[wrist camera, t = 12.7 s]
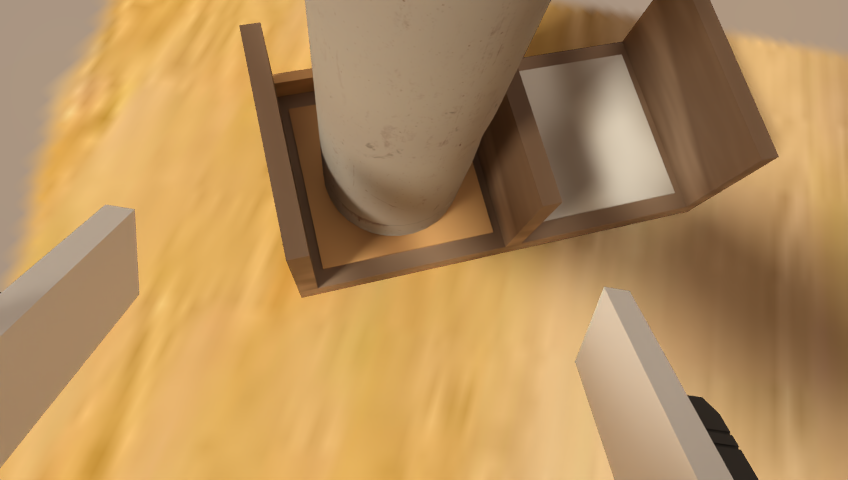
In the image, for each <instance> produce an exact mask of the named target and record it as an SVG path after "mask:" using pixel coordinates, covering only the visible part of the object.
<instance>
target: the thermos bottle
mask: <svg viewBox="0 0 848 480" xmlns="http://www.w3.org/2000/svg"><path fill="white" fill-rule="evenodd" d="M550 1H551V0H305V5H306V14H307V24H308V33H309V43H310V52H311V62H312V71H313V81H314V90H315V100H316V110H317V119H318V129H319V138H320V148H321V157H322V167H323V175H324V181H325V186H326V190H327V192H328V194H329V197H330V199H331V201H332V202H333V204H334V205H335V207H336V208H337V210H338V211H339V212H340V213H341V214H342V215H343V216H344V217H345V218H346V219H347V220H348V221H350V222H351V223H353V224H355V225H356V226H358V227H359V228H361V229H364V230H366V231H369V232H371V233H375V234H380V235H385V236H402V235H407V234H413V233H416V232H418V231H421V230H423V229H426V228H427V227H429V226H430V225H432V224H434V223H435V222H437V221H438V220H439V219H440V218H441V217H442V216H443V215H444V214H445V213H446V211H447V210H448V208H449V207H450V205H451V204H452V202H453V201H454V199H455V196H456V194H457V192H458V190H459V188H460V186H461V184H462V182H463V180H464V178H465V176H466V174H467V172H468V170H469V168H470V166H471V163H472V161H473V159H474V156H475V154H476V151H477V149H478V146H479V144H480V141H481V138H482V136H483V134H484V132H485V131H486V129H487V127H488V126H489V124H490V123H491V121H492V119H493V118H494V116H495V114H496V112H497V110H498V108H499V106H500V104H501V102H502V100H503V98H504V96H505V94H506V92H507V90H508V87H509V85H510V83H511V81H512V79H513V77H514V75H515V73H516V71H517V69H518V67H519V65H520V63H521V61H522V59H523V57H524V55H525V53H526V50H527V48H528V46H529V44H530V42H531V40H532V38H533V36H534V34H535V32H536V30H537V28H538V26H539V24H540V22H541V20H542V18H543V16H544V13H545V11H546V9H547V7H548V5H549V3H550Z"/></svg>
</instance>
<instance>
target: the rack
mask: <svg viewBox="0 0 848 480" xmlns="http://www.w3.org/2000/svg"><path fill="white" fill-rule="evenodd" d="M239 26H240V31H241V36H242V41H243V46H244V51H245V56H246V61H247V66H248V71H249V76H250V81H251V86H252V91H253V96H254V101H255V106H256V111H257V116H258V121H259V126H260V132H261V137H262V142H263V147H264V152H265V157H266V162H267V167H268V172H269V177H270V182H271V187H272V192H273V197H274V202H275V207H276V212H277V217H278V222H279V227H280V232H281V237H282V242H283V247H284V252H285V257H286V261H287V264H288V266H289V268H290V271H291V273H292V275H293V278H294V280H295V283H296V285H297V287H298V290H299V292H300V295H301V297H302V298H303V297H307V296H312V295H316V294H321V293H325V292H330V291H334V290H338V289H343V288H347V287H352V286H356V285H361V284H365V283H370V282H374V281H379V280H383V279H388V278H392V277H397V276H401V275H406V274H410V273H415V272H419V271H423V270H428V269H432V268H437V267H441V266H446V265H450V264H455V263H459V262H464V261H468V260H473V259H477V258H482V257H486V256H491V255H495V254H500V253H504V252H509V251H513V250H517V249H522V248H526V247H531V246H535V245H540V244H544V243H549V242H553V241H558V240H562V239H567V238H571V237H576V236H580V235H585V234H589V233H594V232H598V231H603V230H607V229H611V228H616V227H620V226H625V225H629V224H634V223H638V222H643V221H647V220H652V219H656V218H661V217H665V216H670V215H674V214H679V213H683V212H687V211H689V210H691V209H692V208H694V207H696V206H697V205H699V204H701V203H702V202H704V201H706V200H707V199H709V198H711V197H712V196H714V195H716V194H717V193H719V192H721V191H722V190H724V189H726V188H727V187H729V186H731V185H732V184H734V183H736V182H737V181H739V180H741V179H742V178H744V177H746V176H747V175H749V174H751V173H752V172H754V171H756V170H757V169H759V168H761V167H762V166H764V165H766V164H767V163H769V162H771V161H772V160H774V159H776V158H777V157H779V156H778V154H777V152H776V149H775V147H774V145H773V143H772V140H771V138H770V136H769V133H768V131H767V129H766V127H765V124H764V122H763V120H762V118H761V115H760V113H759V111H758V108H757V106H756V104H755V102H754V99H753V97H752V95H751V93H750V90H749V88H748V86H747V83H746V81H745V79H744V77H743V74H742V72H741V70H740V68H739V65H738V63H737V61H736V58H735V56H734V54H733V52H732V49H731V47H730V45H729V42H728V40H727V38H726V36H725V33H724V31H723V29H722V27H721V24H720V22H719V20H718V18H717V15H716V13H715V11H714V8H713V6H712V4H711V2H710V0H653V1H652V2H651V4H650V5H649V6H648V8H647V9H646V11H645V12H644V13H643V14H642V16H641V17H640V19H639V20H638V21H637V23H636V24H635V25H634V27H633V28H632V29H631V31H630V32H629V34H628V35H627V36H626V38H625V39H624V40H623V42H618V43H612V44H605V45H599V46H593V47H587V48H580V49H574V50H568V51H562V52H555V53H549V54H543V55H537V56H530V57H524V58H523V59H522V61H521V63H520V65H519V67H518V69H517V71H516V73H515V75H514V77H513V79H512V81H511V83H510V85H509V87H508V90H507V92H506V94H505V96H504V98H503V100H502V102H501V104H500V106H499V108H498V110H497V112H496V114H495V116H494V118H493V119H492V121H491V123H490V124H489V126H488V127H487V129H486V131H485V132H484V134H483V136H482V138H481V141H480V144H479V146H478V149H477V151H476V154H475V156H474V159H473V161H472V163H471V166H470V168H469V170H468V172H467V174H466V176H465V178H464V180H463V182H462V184H461V186H460V188H459V190H458V192H457V194H456V196H455V199H454V201H453V202H452V204H451V205H450V207H449V208H448V210H447V211H446V213H445V214H444V215H443V216H442V217H441V218H440V219H439V220H438V221H437V222H435V223H434V224H432V225H430V226H429V227H427V228H426V229H423V230H421V231H418V232H416V233H413V234H407V235H402V236H385V235H380V234H375V233H371V232H369V231H366V230H364V229H361V228H359V227H358V226H356V225H355V224H353V223H351V222H350V221H348V220H347V219H346V218H345V217H344V216H343V215H342V214H341V213H340V212H339V211H338V210H337V208H336V207H335V205H334V204H333V202H332V201H331V199H330V197H329V194H328V192H327V190H326V186H325V181H324V175H323V167H322V157H321V148H320V138H319V129H318V119H317V110H316V100H315V90H314V81H313V71H312V68H311V69H305V70H298V71H291V72H285V73H278V74H272V71H271V67H270V63H269V58H268V54H267V50H266V45H265V41H264V36H263V32H262V28H261V23H254V24H247V25H239ZM272 75H273V76H272Z"/></svg>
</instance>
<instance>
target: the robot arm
mask: <svg viewBox="0 0 848 480" xmlns="http://www.w3.org/2000/svg"><path fill="white" fill-rule="evenodd" d="M138 295H139V280H138V262H137V243H136V224H135V209H129V208H123V207H117V206H111V205H104V206H103V207H102V208H101V209H100V210H98V211H97V212H96V213H95V214H94V215H93V216H91V217H90V218H89V219H88V220H87V221H85V222H84V223H83V224H82V225H81V226H80V227H78V228H77V229H76V230H75V231H74V232H72V233H71V234H70V235H69V236H68V237H67V238H65V239H64V240H63V241H62V242H61V243H59V244H58V245H57V246H56V247H55V248H54V249H52V250H51V251H50V252H49V253H48V254H46V255H45V256H44V257H43V258H42V259H40V260H39V261H38V262H37V263H36V264H35V265H33V266H32V267H31V268H30V269H29V270H27V271H26V272H25V273H24V274H23V275H22V276H20V277H19V278H18V279H17V280H16V281H14V282H13V283H12V284H11V285H10V286H9V287H7V288H6V289H5V290H4V291H3V292H0V468H1V466H2V465H3V464H4V463H5V461H6V460H7V459H8V458H9V456H10V455H11V454H12V453H13V451H14V450H15V449H16V448H17V446H18V445H19V444H20V443H21V441H22V440H23V439H24V438H25V436H26V435H27V434H28V433H29V431H30V430H31V429H32V428H33V426H34V425H35V424H36V423H37V421H38V420H39V419H40V418H41V416H42V415H43V414H44V413H45V411H46V410H47V409H48V408H49V406H50V405H51V404H52V403H53V401H54V400H55V399H56V398H57V396H58V395H59V394H60V393H61V391H62V390H63V389H64V388H65V386H66V385H67V384H68V383H69V381H70V380H71V379H72V378H73V376H74V375H75V374H76V373H77V371H78V370H79V369H80V368H81V366H82V365H83V364H84V363H85V361H86V360H87V359H88V358H89V356H90V355H91V354H92V353H93V351H94V350H95V349H96V348H97V346H98V345H99V344H100V343H101V341H102V340H103V339H104V338H105V336H106V335H107V334H108V333H109V331H110V330H111V329H112V328H113V326H114V325H115V324H116V323H117V321H118V320H119V319H120V318H121V316H122V315H123V314H124V313H125V311H126V310H127V309H128V308H129V306H130V305H131V304H132V303H133V301H134V300H135V299H136V298H137V296H138ZM575 363H576V366H577V369H578V372H579V375H580V378H581V381H582V384H583V387H584V390H585V393H586V396H587V399H588V402H589V405H590V408H591V411H592V414H593V417H594V420H595V423H596V426H597V429H598V432H599V434H600V437H601V440H602V443H603V446H604V449H605V452H606V455H607V458H608V461H609V464H610V467H611V470H612V473H613V476H614V479H615V480H758V478H757V476H756V475H755V473H754V471H753V470H752V468H751V466H750V464H749V463H748V461H747V459H746V458H745V456H744V454H743V453H742V451H741V450H739V449H738V447H739V446H738V444H737V443H736V441H735V439H734V438H733V436H732V435H730V431H729V429H728V428H727V426H726V424H725V423H724V421H723V419H722V418H721V416H720V414H719V413H718V412H717V411H716V410H715V409H714V408H713V407H712V406H711V405H709V404H708V403H707V402H706V401H705V400H704V399H703V398H702V397H696V396H689V395H687V394H686V392H685V391H684V389H683V387H682V385H681V383H680V381H679V380H678V378H677V376H676V374H675V372H674V371H673V369H672V367H671V365H670V363H669V362H668V360H667V358H666V356H665V354H664V352H663V351H662V349H661V347H660V345H659V343H658V342H657V340H656V338H655V336H654V334H653V332H652V331H651V329H650V327H649V325H648V323H647V322H646V320H645V318H644V316H643V314H642V312H641V311H640V309H639V307H638V305H637V303H636V302H635V300H634V298H633V296H632V294H631V293H630V291H627V290H621V289H614V288H608V287H604V288H603V291H602V293H601V296H600V298H599V301H598V304H597V306H596V309H595V311H594V314H593V316H592V319H591V322H590V324H589V327H588V329H587V332H586V334H585V337H584V340H583V342H582V345H581V347H580V350H579V352H578V355H577V358H576V360H575Z"/></svg>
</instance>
